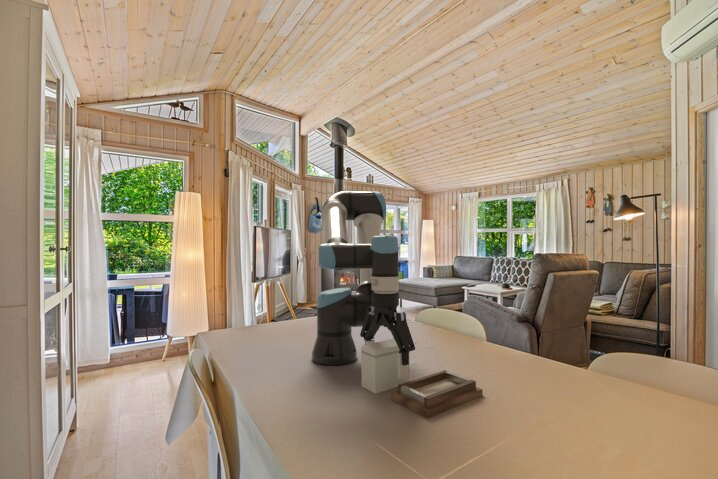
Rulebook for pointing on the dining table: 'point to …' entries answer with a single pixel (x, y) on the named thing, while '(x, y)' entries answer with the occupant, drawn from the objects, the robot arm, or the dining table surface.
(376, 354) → the white lidded box
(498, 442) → the dining table surface
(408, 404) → the tray
